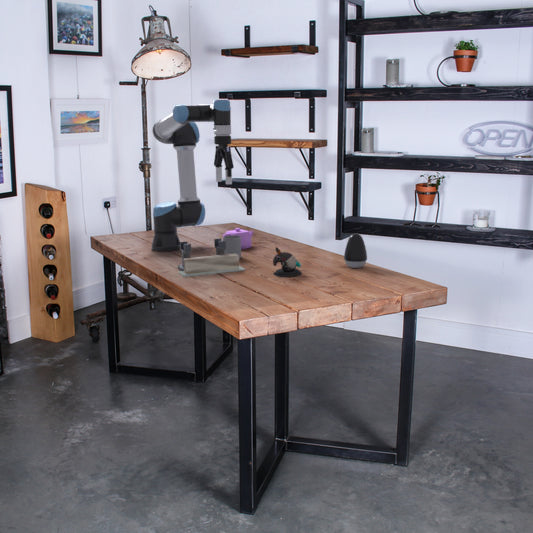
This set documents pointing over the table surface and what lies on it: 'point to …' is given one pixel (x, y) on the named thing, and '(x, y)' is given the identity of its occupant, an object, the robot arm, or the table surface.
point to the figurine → (286, 264)
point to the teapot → (244, 237)
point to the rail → (211, 263)
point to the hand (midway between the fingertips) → (223, 183)
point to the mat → (210, 272)
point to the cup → (233, 244)
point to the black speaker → (355, 252)
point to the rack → (186, 250)
